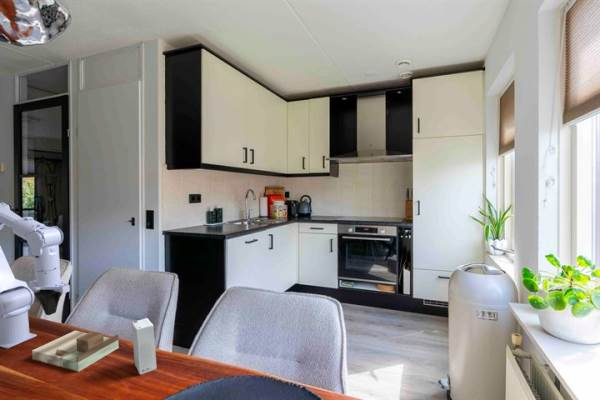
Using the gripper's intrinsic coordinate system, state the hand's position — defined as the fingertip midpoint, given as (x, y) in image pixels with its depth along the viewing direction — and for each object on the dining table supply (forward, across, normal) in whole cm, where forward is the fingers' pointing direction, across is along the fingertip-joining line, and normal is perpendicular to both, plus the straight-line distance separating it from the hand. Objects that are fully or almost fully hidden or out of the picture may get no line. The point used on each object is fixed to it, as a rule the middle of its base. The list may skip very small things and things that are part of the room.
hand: (50, 313), depth 93 cm
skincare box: (+11, +34, +1) cm, 36 cm away
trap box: (+10, +10, 0) cm, 14 cm away
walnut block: (+8, +16, 0) cm, 17 cm away
